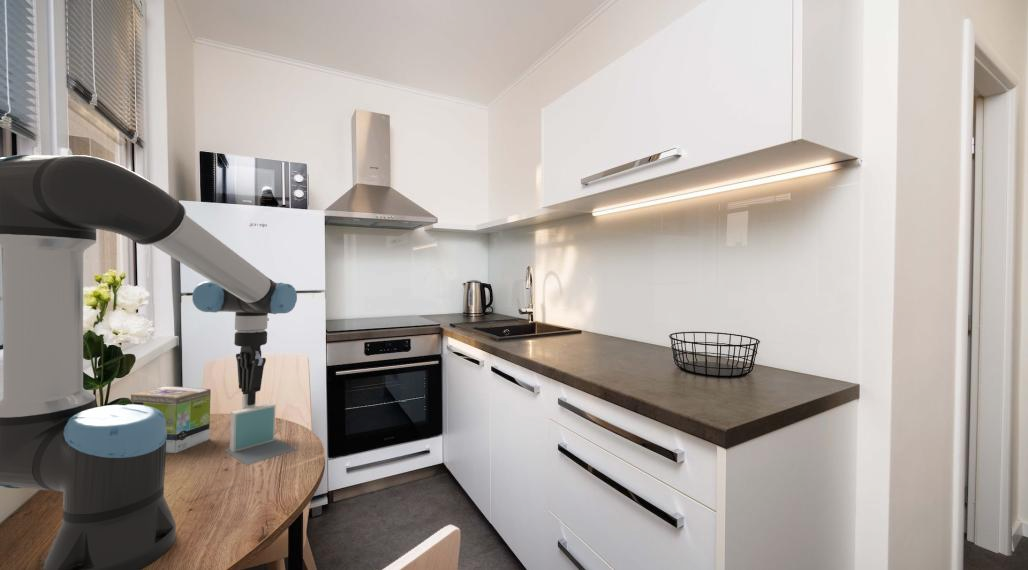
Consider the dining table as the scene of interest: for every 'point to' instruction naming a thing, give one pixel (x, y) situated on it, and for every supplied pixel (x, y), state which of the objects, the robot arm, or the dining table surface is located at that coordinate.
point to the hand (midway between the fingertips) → (248, 415)
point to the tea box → (180, 414)
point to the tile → (252, 427)
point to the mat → (261, 452)
